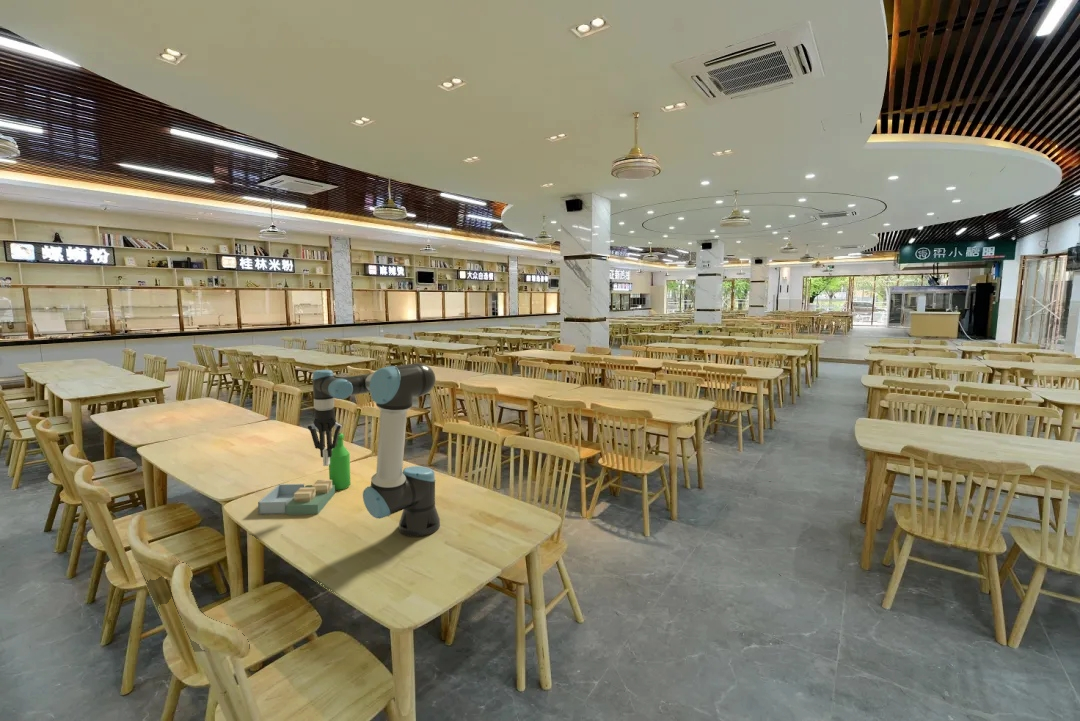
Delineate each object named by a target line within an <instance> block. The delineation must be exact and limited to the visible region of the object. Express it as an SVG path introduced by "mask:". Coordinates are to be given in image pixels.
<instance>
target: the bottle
mask: <svg viewBox="0 0 1080 721" xmlns="http://www.w3.org/2000/svg"><path fill="white" fill-rule="evenodd" d="M333 438H334V434H333V437H332V439H333ZM344 438H345V436H344V433H340V432H339V437H338V442H337V446H336V447H335V448H333V449H332V456H331V457H330V464H329V465H328V474H329V477H328V480H332V485H335V491H341V490H345V489H347V488H349V487H350V486H351V465H350V464H351V462H350V460H351V459H350V457H351V456H350V451H349V450H348V449H347V448H346V447H345V445H344Z"/></svg>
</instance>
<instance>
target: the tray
mask: <svg viewBox="0 0 1080 721" xmlns="http://www.w3.org/2000/svg"><path fill="white" fill-rule="evenodd" d="M304 487H305V484H304V483H296V484H295V483H291V484H290V483H289V484H288V483H287V484H284V483H283V484H278V485H277V486H275V487H274V488H273V489H272V490H271V491H270V492H268V493H267V494H266V495H264V496H263V498H261V499H260V500H259V501H258V502H257V505H258V506H257V507H258V509H257V510H258V515H284V514H286V515H287V513H286V505H287V504H288V503H289V502H290V501H291V500H292V499H293V498H294V493H295V492H296V491H298V490H299V489H300V488H304Z"/></svg>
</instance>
